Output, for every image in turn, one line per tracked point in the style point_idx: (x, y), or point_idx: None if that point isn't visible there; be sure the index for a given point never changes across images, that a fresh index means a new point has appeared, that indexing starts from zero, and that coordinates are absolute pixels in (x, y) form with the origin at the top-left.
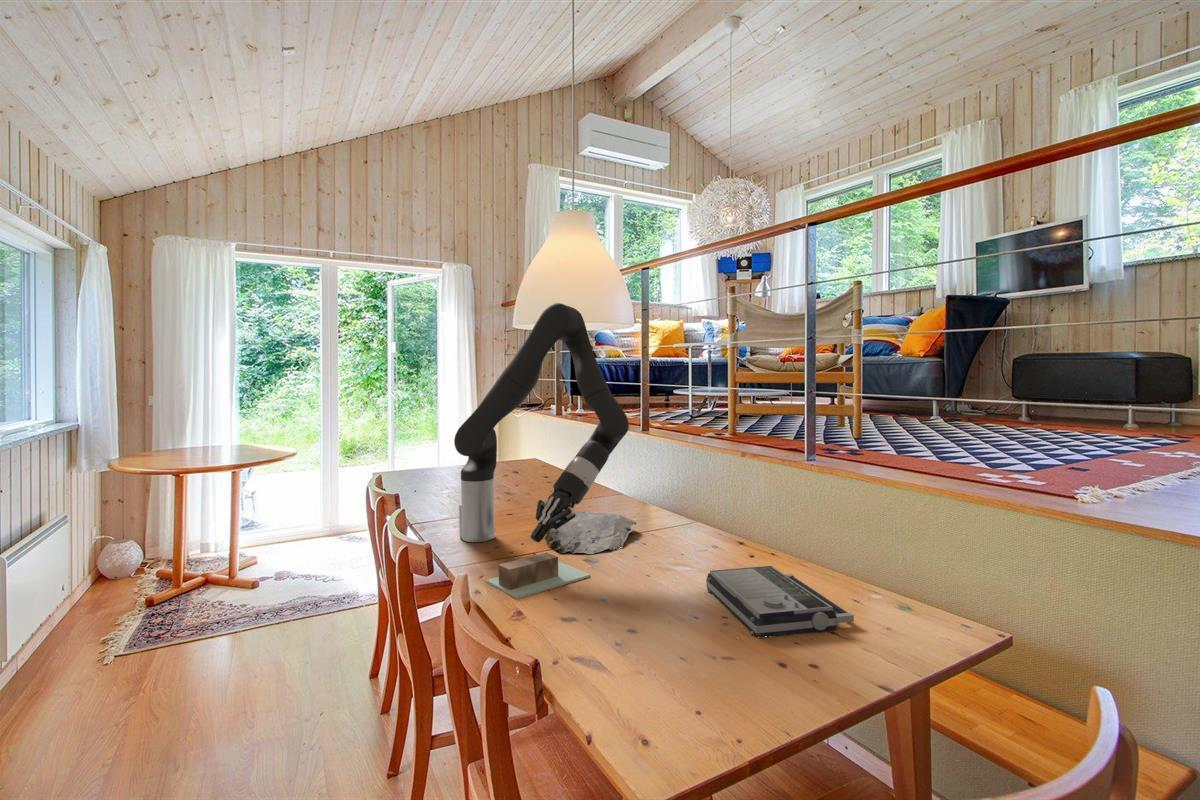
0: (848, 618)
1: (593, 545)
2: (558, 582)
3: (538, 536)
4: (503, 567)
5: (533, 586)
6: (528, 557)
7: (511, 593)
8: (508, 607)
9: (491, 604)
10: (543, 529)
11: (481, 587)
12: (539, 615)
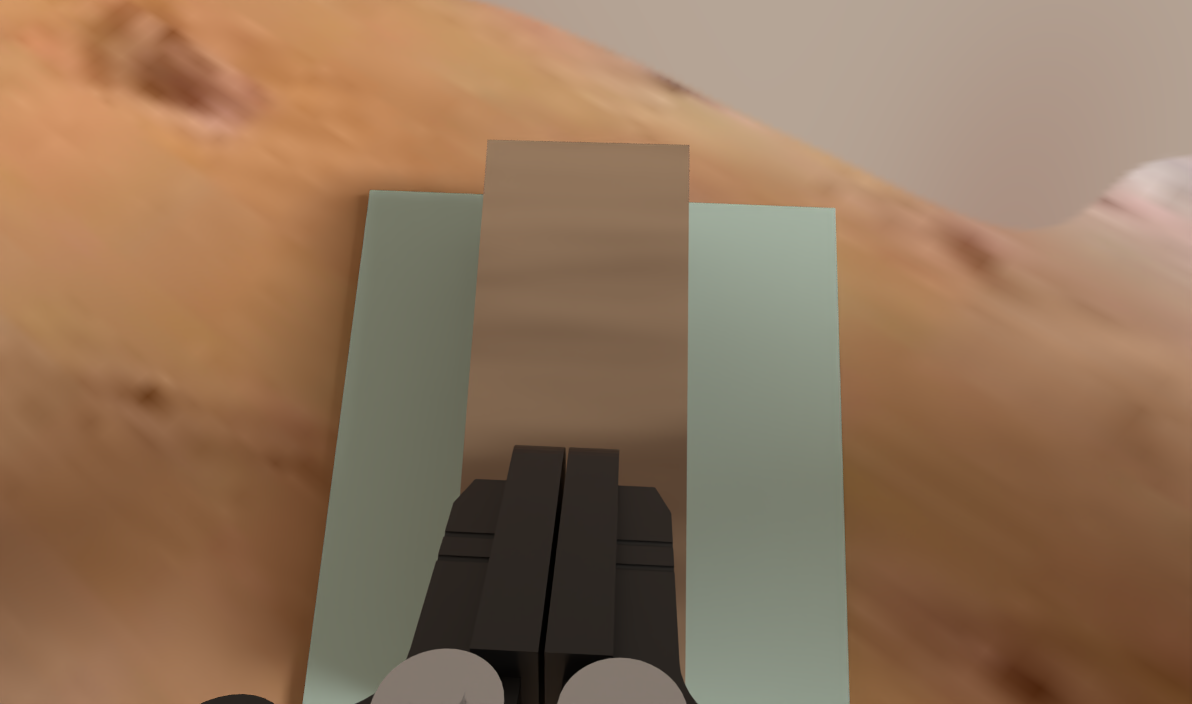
0: None
1: None
2: (347, 618)
3: (459, 498)
4: (600, 146)
5: (435, 396)
6: (672, 495)
7: (447, 195)
8: (301, 83)
9: (427, 35)
10: (424, 613)
11: (753, 139)
12: (40, 150)
